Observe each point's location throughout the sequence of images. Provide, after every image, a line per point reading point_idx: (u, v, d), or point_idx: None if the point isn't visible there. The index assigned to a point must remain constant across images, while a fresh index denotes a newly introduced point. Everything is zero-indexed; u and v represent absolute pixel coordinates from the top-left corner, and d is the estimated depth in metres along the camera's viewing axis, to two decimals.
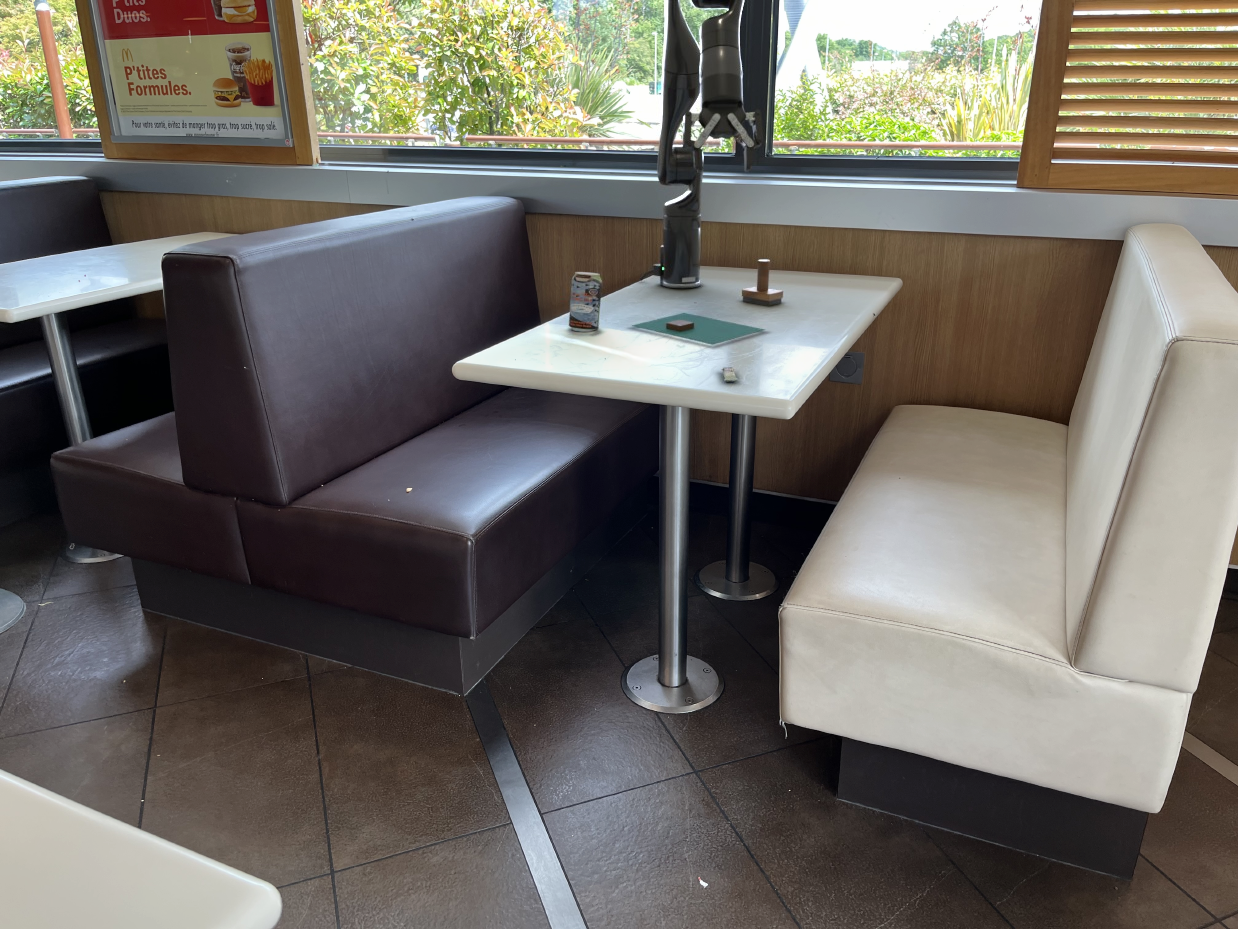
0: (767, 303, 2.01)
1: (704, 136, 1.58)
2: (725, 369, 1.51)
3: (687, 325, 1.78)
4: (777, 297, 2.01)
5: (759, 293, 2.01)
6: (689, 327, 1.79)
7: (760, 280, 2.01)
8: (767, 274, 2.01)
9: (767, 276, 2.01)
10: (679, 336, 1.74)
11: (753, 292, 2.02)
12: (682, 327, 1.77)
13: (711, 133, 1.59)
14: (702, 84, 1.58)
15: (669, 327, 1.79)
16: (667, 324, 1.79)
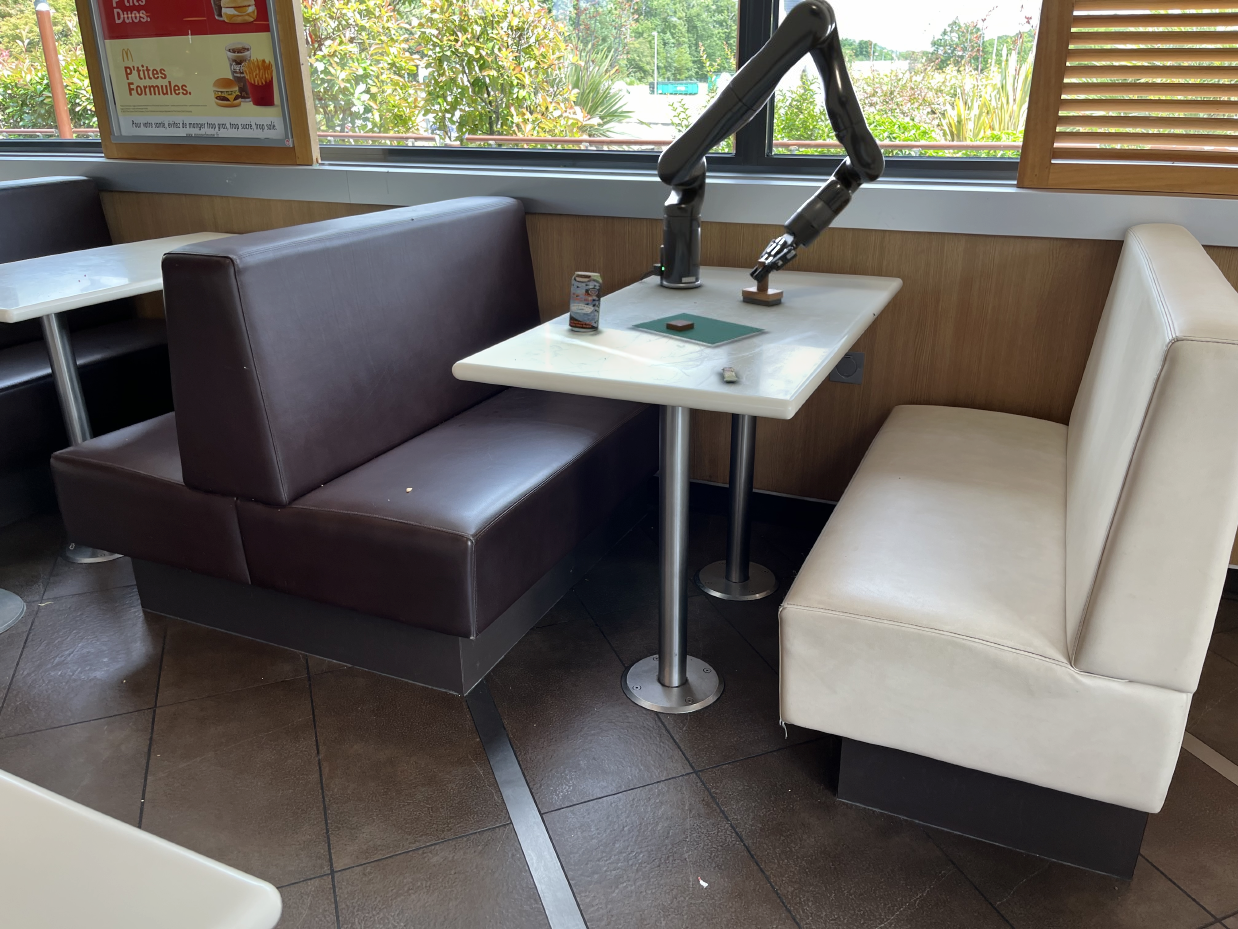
0: (767, 303, 2.01)
1: (779, 264, 2.00)
2: (725, 369, 1.51)
3: (687, 325, 1.78)
4: (777, 297, 2.01)
5: (759, 293, 2.01)
6: (689, 327, 1.79)
7: None
8: None
9: (767, 276, 2.01)
10: (679, 336, 1.74)
11: (753, 292, 2.02)
12: (682, 327, 1.77)
13: None
14: (814, 232, 1.96)
15: (669, 327, 1.79)
16: (667, 324, 1.79)
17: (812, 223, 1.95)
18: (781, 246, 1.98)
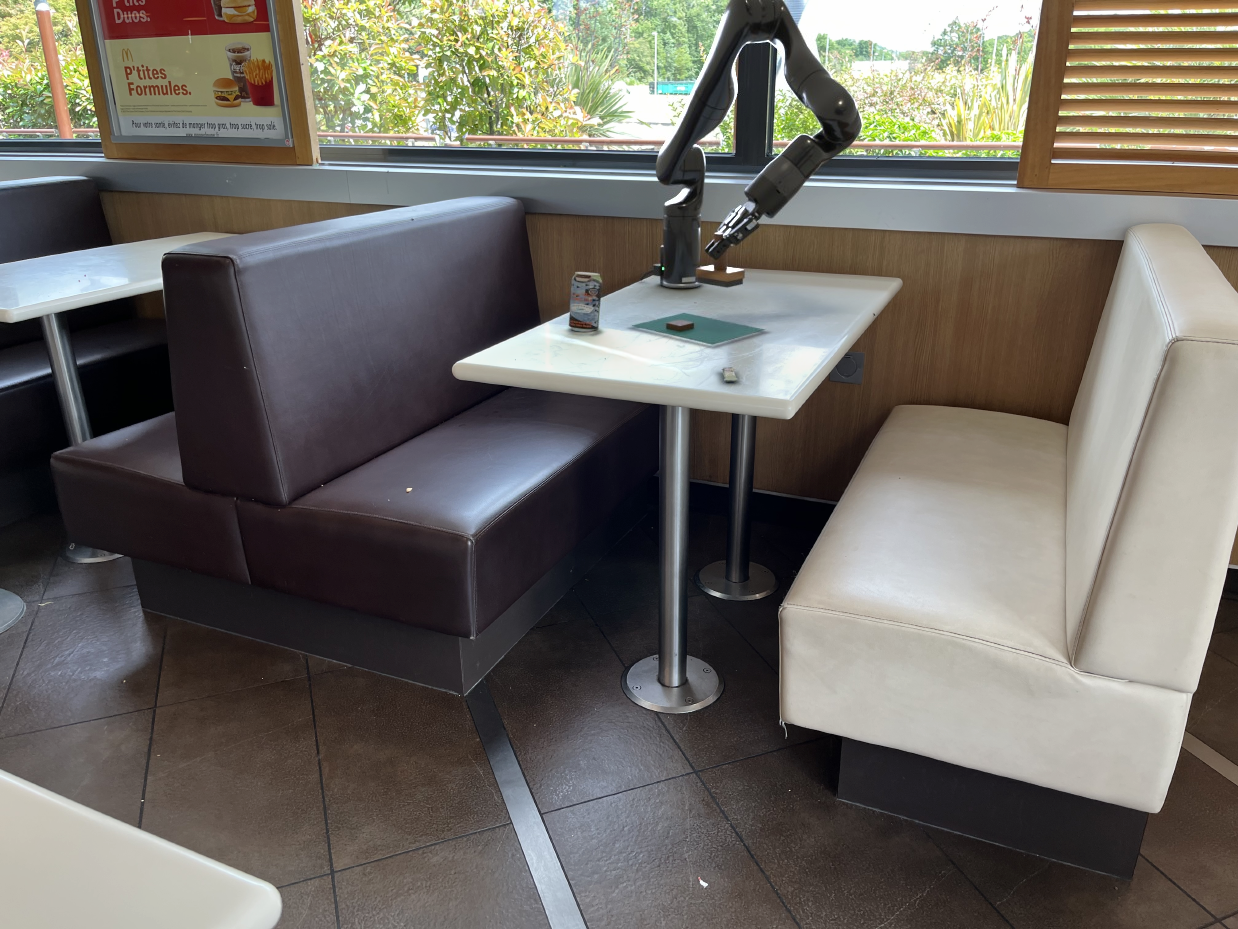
0: (725, 284, 1.68)
1: (739, 237, 1.67)
2: (725, 369, 1.51)
3: (687, 325, 1.78)
4: (737, 277, 1.69)
5: (716, 272, 1.69)
6: (689, 327, 1.79)
7: None
8: None
9: (725, 251, 1.69)
10: (679, 336, 1.74)
11: (709, 271, 1.70)
12: (682, 327, 1.77)
13: None
14: (780, 198, 1.64)
15: (669, 327, 1.79)
16: (667, 324, 1.79)
17: (777, 187, 1.63)
18: (741, 215, 1.66)
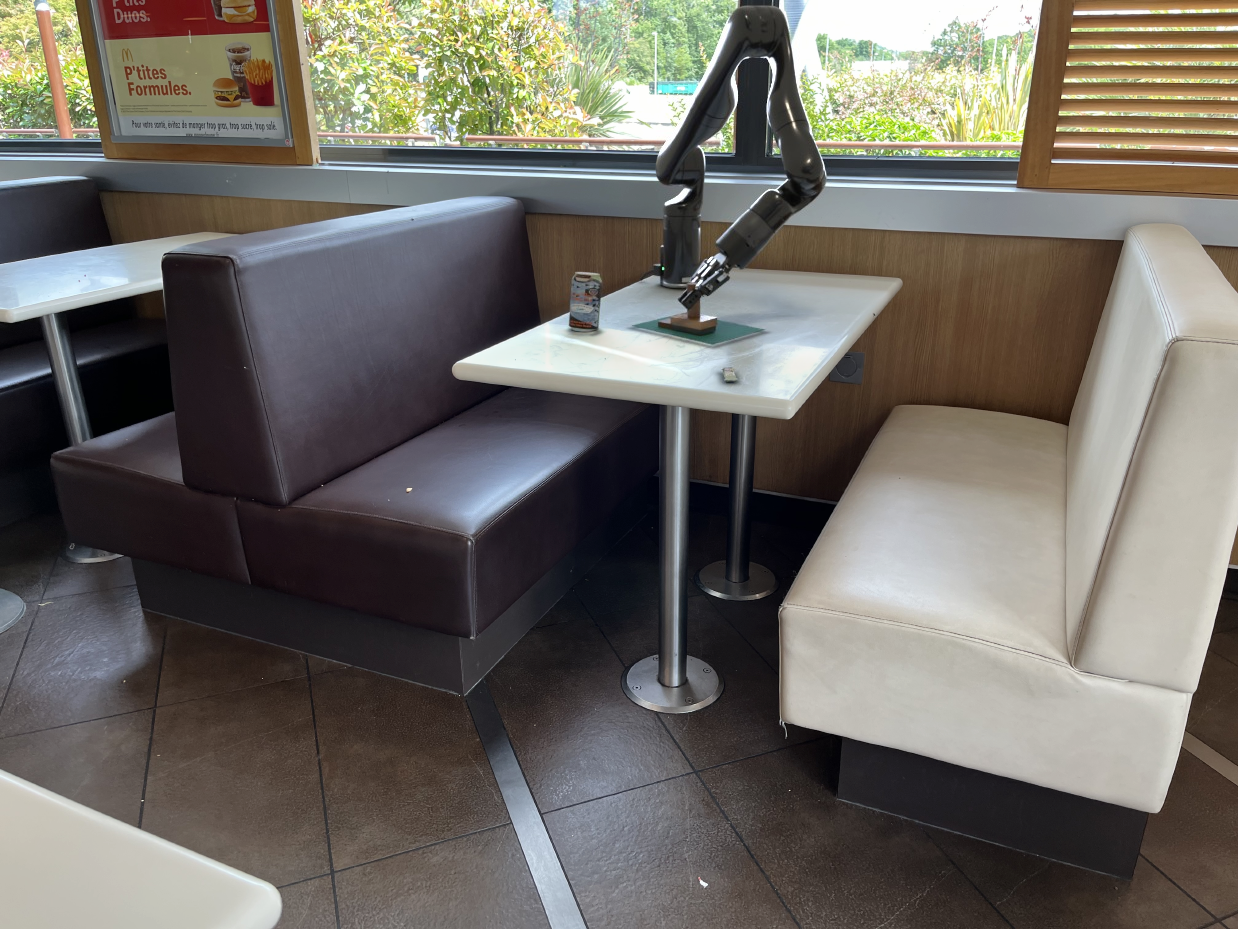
0: (699, 332, 1.74)
1: (711, 288, 1.73)
2: (725, 369, 1.51)
3: None
4: (710, 325, 1.75)
5: (689, 320, 1.74)
6: None
7: None
8: None
9: (698, 300, 1.74)
10: (679, 336, 1.74)
11: (683, 320, 1.75)
12: None
13: None
14: (749, 251, 1.70)
15: (661, 325, 1.81)
16: (659, 322, 1.81)
17: (747, 241, 1.69)
18: (712, 267, 1.71)
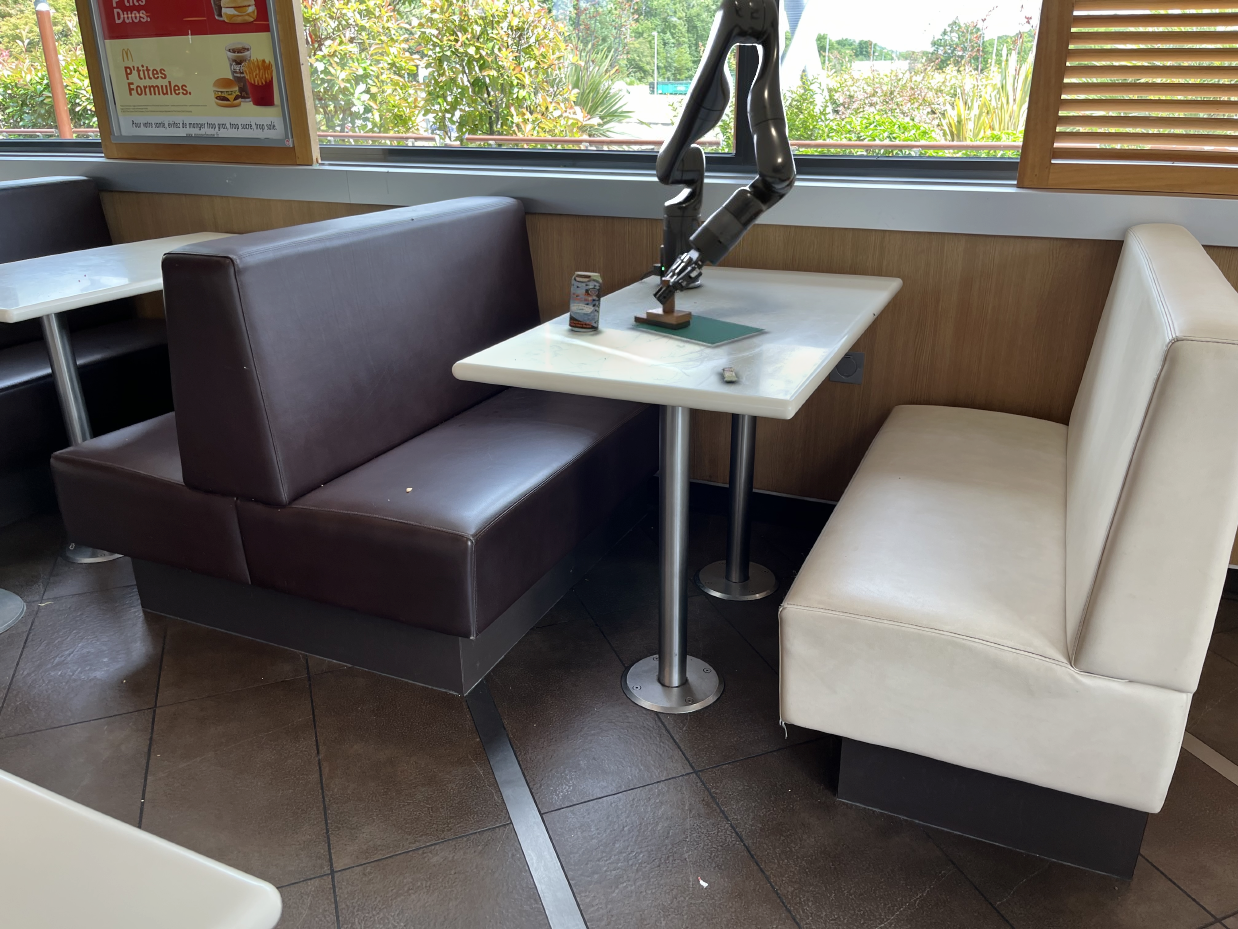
0: (674, 326, 1.78)
1: (684, 283, 1.78)
2: (725, 369, 1.51)
3: None
4: (685, 319, 1.79)
5: (664, 315, 1.79)
6: None
7: None
8: None
9: None
10: (679, 336, 1.74)
11: (658, 314, 1.80)
12: None
13: None
14: (721, 247, 1.74)
15: (637, 320, 1.85)
16: (635, 317, 1.85)
17: (719, 238, 1.73)
18: (685, 263, 1.76)
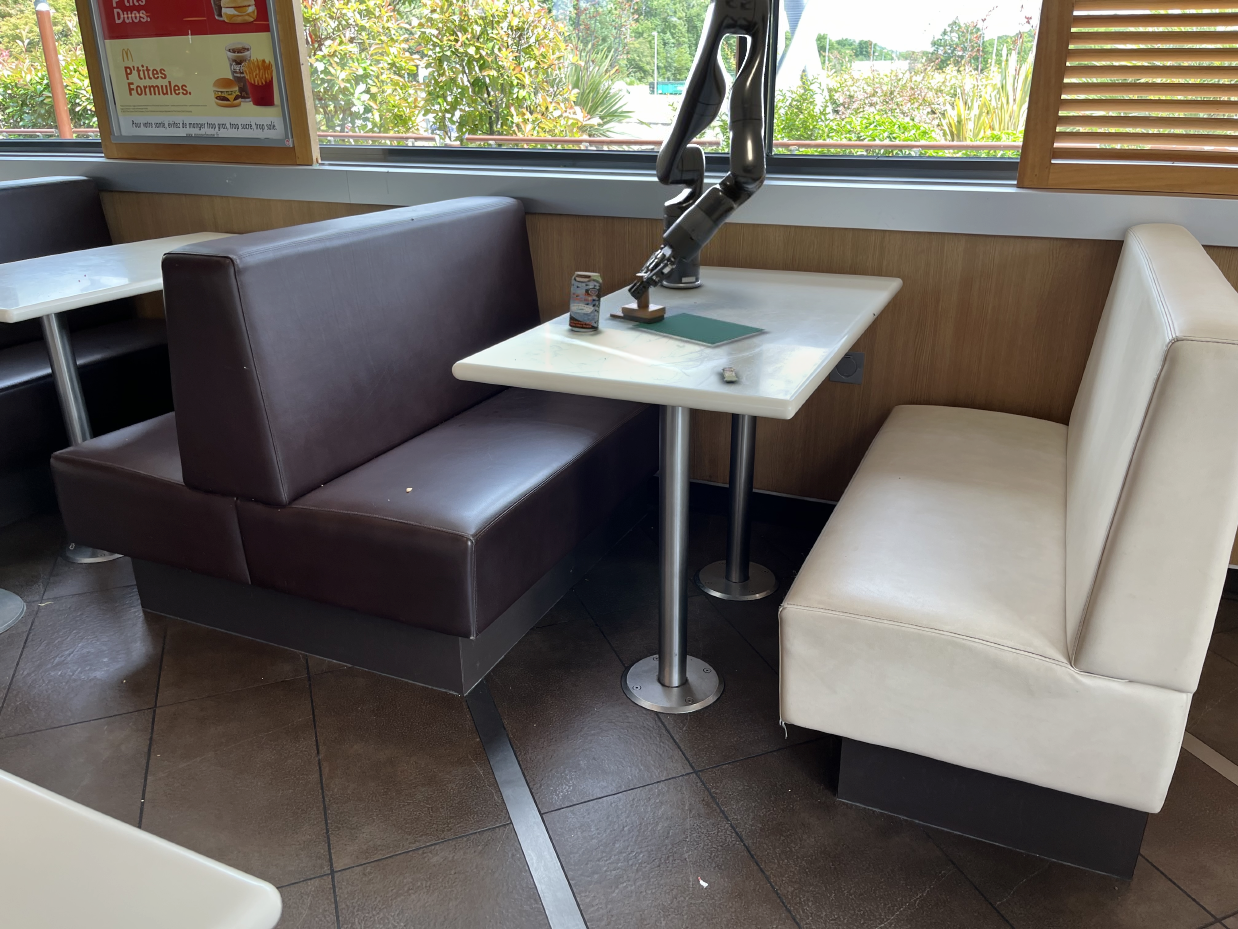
0: (648, 321, 1.83)
1: None
2: (725, 369, 1.51)
3: None
4: (659, 314, 1.84)
5: (639, 310, 1.84)
6: None
7: None
8: None
9: (646, 291, 1.84)
10: (679, 336, 1.74)
11: (633, 309, 1.85)
12: None
13: None
14: (693, 244, 1.79)
15: None
16: (611, 315, 1.91)
17: (691, 235, 1.78)
18: (659, 260, 1.81)
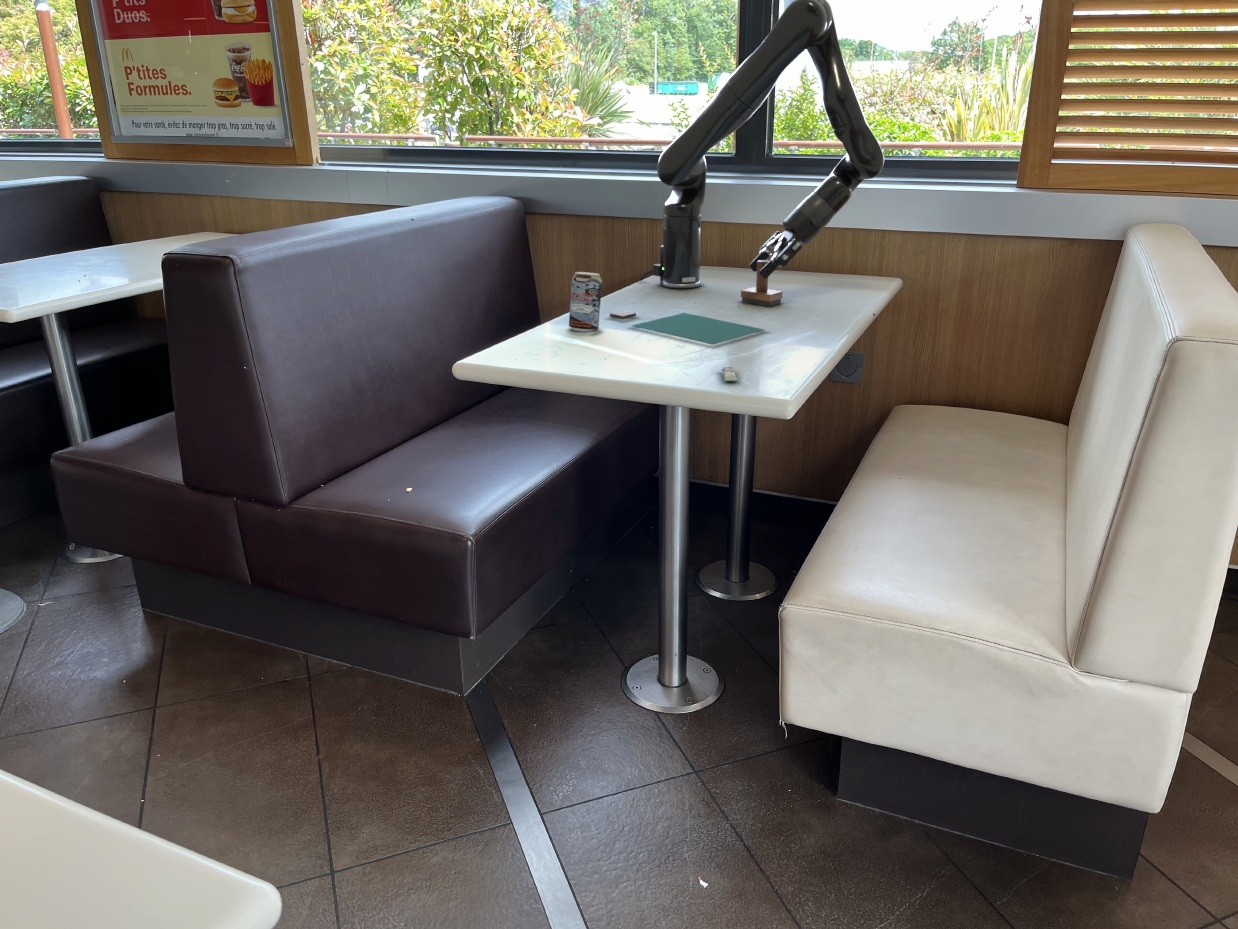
0: (767, 304, 2.00)
1: None
2: (725, 369, 1.51)
3: (629, 315, 1.90)
4: (777, 297, 2.01)
5: (759, 293, 2.00)
6: None
7: (760, 281, 2.01)
8: None
9: None
10: (679, 336, 1.74)
11: (753, 293, 2.02)
12: (624, 317, 1.89)
13: None
14: (813, 228, 1.95)
15: None
16: (610, 315, 1.91)
17: (811, 220, 1.94)
18: (782, 241, 1.97)
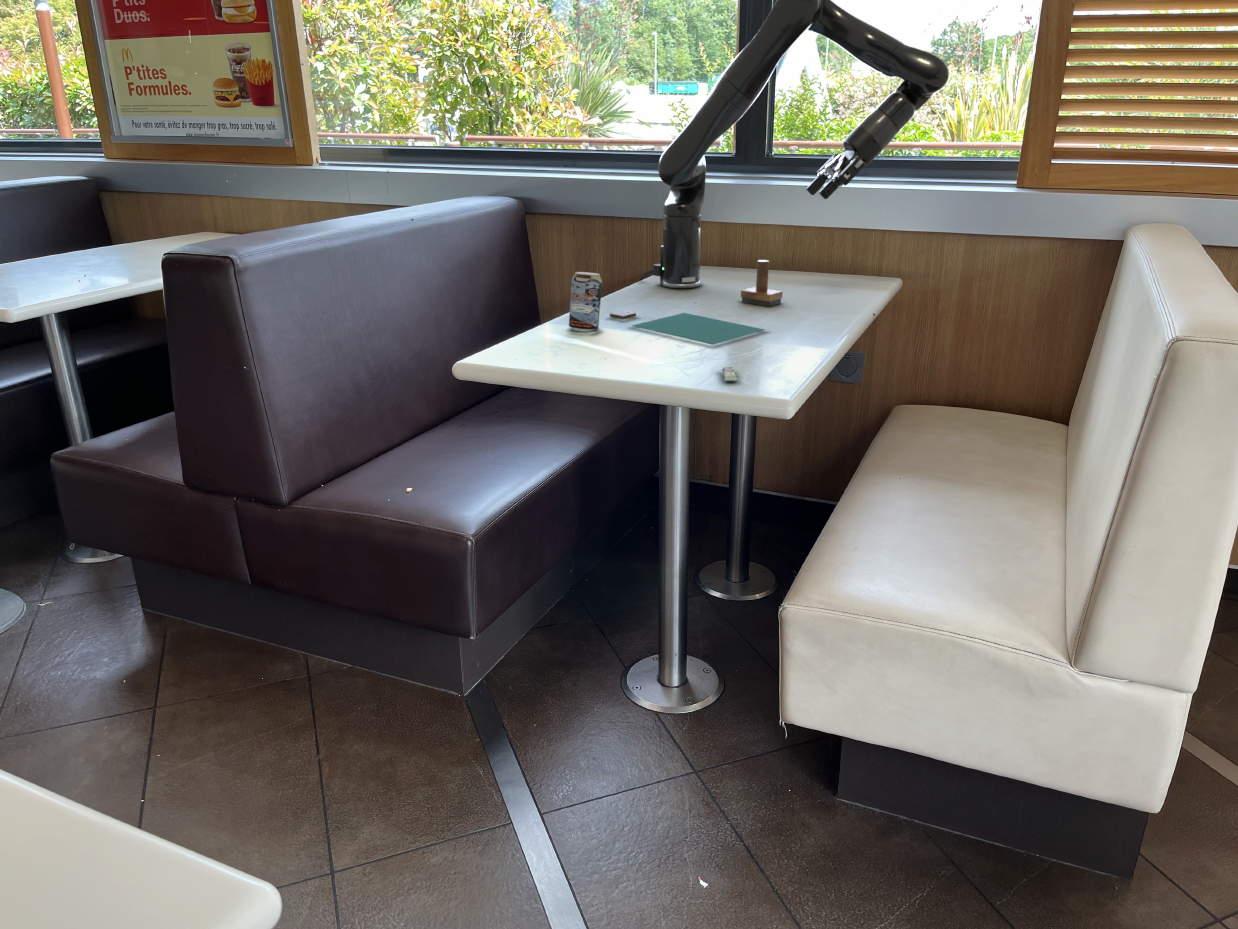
0: (767, 304, 2.00)
1: None
2: (725, 369, 1.51)
3: (629, 315, 1.90)
4: (777, 297, 2.01)
5: (759, 293, 2.00)
6: None
7: (760, 281, 2.01)
8: (766, 275, 2.00)
9: (766, 276, 2.01)
10: (679, 336, 1.74)
11: (753, 293, 2.02)
12: (624, 317, 1.89)
13: None
14: (875, 147, 1.90)
15: None
16: (610, 315, 1.91)
17: (874, 137, 1.89)
18: (843, 161, 1.91)
